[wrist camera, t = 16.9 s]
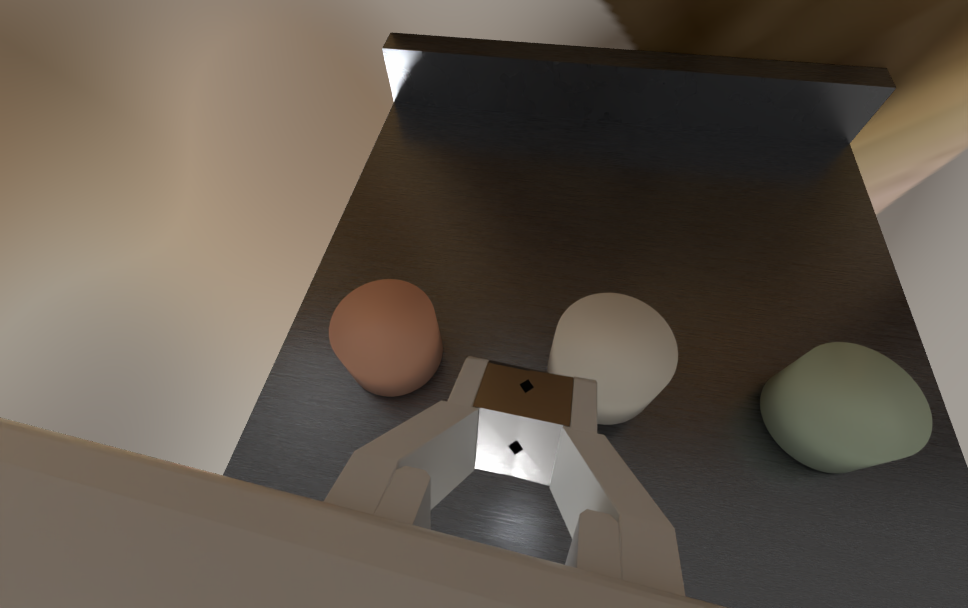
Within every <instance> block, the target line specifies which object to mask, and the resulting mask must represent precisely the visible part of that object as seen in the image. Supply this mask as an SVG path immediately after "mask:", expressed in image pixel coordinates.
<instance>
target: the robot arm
mask: <svg viewBox="0 0 968 608" xmlns="http://www.w3.org/2000/svg"><path fill="white" fill-rule="evenodd" d="M474 468H476V469H481V470H486V471H491V472H496V473H500V474H505V475H510V476H514V477H518V478H522V479H526V480H530V481H533V482H537V483H541V484H545V485H549V486H550V487H549V488H550V490H551V492H552V495H553V497H554V499H555V501H556V504H557V506H558V508H559V510H560V513H561V515H562V517H563V519H564V521H565V524H566V526H567V528H568V530H569V533H570V535H571V537H572V542H571V546H570V549H569V552H568V556H567V559H566V563H565V565H563V564H560V563H556V562H552V561H548V560H544V559H540V558H537V557H533V556H529V555H525V554H521V553H518V552H514V551H510V550H506V549H502V548H499V547H495V546H491V545H487V544H483V543H479V542H476V541H472V540H468V539H464V538H460V537H457V536H453V535H449V534H445V533H441V532H437V531H434V530H431V509H433V508H434V507H435V506H436V505H437V504H438V503H439V502H440V501H441V500H442V499H443V498H445V497H446V496H447V495H448V494H449V493H450V492H451V491H452V490H453V489H454V488H455V487H457V486H458V485H459V484H460V483H461V482H462V481H463V480H464V479H465V478H466V477H467V476H469V475H470V474H471V473H472V472H473V471H474ZM0 608H728V607H725V606H721V605H717V604H713V603H709V602H706V601H702V600H698V599H694V598H690V597H686V596H685V590H684V584H683V578H682V571H681V565H680V558H679V552H678V546H677V539H676V533H675V528H674V527H673V525H672V524H671V523H670V521H669V520H668V519H667V517H666V516H665V515H664V514H663V512H662V511H661V510H660V508H659V507H658V506H657V504H656V503H655V502H654V500H653V499H652V498H651V496H650V495H649V494H648V492H647V491H646V490H645V488H644V487H643V486H642V484H641V483H640V482H639V480H638V479H637V478H636V476H635V475H634V474H633V472H632V471H631V470H630V468H629V467H628V466H627V464H626V463H625V462H624V460H623V459H622V458H621V457H620V455H619V454H618V453H617V451H616V450H615V449H614V447H613V446H612V445H611V443H610V442H609V441H608V439H607V438H606V437H605V435H603V434H598V433H597V382H596V380H592V379H586V378H580V377H571V376H566V375H560V374H555V373H549V372H544V371H539V370H533V369H529V368H525V367H520V366H515V365H511V364H506V363H501V362H497V361H492V360H486V359H481V358H476V357H472V356H468V357H467V358H466V359H465V362H464V364H463V366H462V369H461V371H460V373H459V376H458V378H457V380H456V382H455V385H454V387H453V389H452V392H451V394H450V396H449V399H448V401H447V402H446V401H439V402H438V403H436V404H434V405H433V406H431V407H429V408H427V409H426V410H424V411H422V412H421V413H419V414H417V415H415V416H414V417H412V418H410V419H409V420H407V421H405V422H403V423H402V424H400V425H398V426H397V427H395V428H393V429H391V430H390V431H388V432H386V433H385V434H383V435H381V436H379V437H378V438H376V439H374V440H373V441H371V442H369V443H367V444H366V445H364V446H362V447H361V448H359V449H357V450H355V451H354V452H353V454H352V456H351V457H350V459H349V460H348V462H347V464H346V465H345V467H344V469H343V470H342V472H341V474H340V475H339V477H338V478H337V480H336V482H335V483H334V485H333V487H332V488H331V490H330V491H329V493H328V495H327V496H326V498H325V500H324V501H319V500H315V499H311V498H307V497H304V496H300V495H296V494H292V493H288V492H284V491H281V490H277V489H273V488H269V487H265V486H262V485H258V484H254V483H250V482H246V481H242V480H239V479H235V478H231V477H227V476H223V475H219V474H216V473H212V472H208V471H204V470H200V469H196V468H193V467H189V466H185V465H181V464H177V463H174V462H170V461H166V460H162V459H158V458H154V457H151V456H146V455H143V454H139V453H135V452H131V451H127V450H123V449H120V448H116V447H112V446H108V445H104V444H100V443H97V442H93V441H89V440H85V439H81V438H77V437H74V436H70V435H66V434H62V433H59V432H55V431H51V430H47V429H43V428H39V427H35V426H32V425H28V424H24V423H20V422H16V421H12V420H9V419H5V418H1V417H0Z"/></svg>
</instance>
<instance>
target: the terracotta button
mask: <svg viewBox="0 0 968 608" xmlns="http://www.w3.org/2000/svg"><path fill="white" fill-rule="evenodd" d="M329 340H330V344H331V347H332V349H333V351H334V353H335V354H336V356H337V357H338V358H339V360H340V361H341V362H342V364H343V365H344V366H345V367H346V369H347V370H348V371H349V373H350V374H351V375H352V376H353V378H354V379H355V380H356V382H357V383H358V384H359V385H360V386H361V387H363V388H364V389H365V390H367V391H369V392H371V393H373V394H376V395H380V396H387V397H395V396H401V395H405V394H408V393H411V392H413V391H415V390H417V389H419V388H420V387H422V386H423V385H424V384H426V383H427V382H428V381H429V380H430V379H431V378H432V376H433V375H434V374H435V372H436V371H437V369H438V367H439V365H440V362H441V359H442V354H443V344H442V339H441V335H440V331H439V326H438V322H437V318H436V314H435V310H434V307H433V305H432V302H431V300H430V299H429V297H428V296H427V295H426V294H425V293H424V292H423V291H422V290H421V289H420V288H418V287H417V286H415V285H413V284H411V283H409V282H406V281H402V280H397V279H382V280H376V281H372V282H369V283H366V284H364V285H362V286H360V287H358V288H356V289H355V290H353V291H352V292H350V293H349V294H348V295H347V296H346V297H345V298H344V299H343V300H342V301H341V302H340V303H339V304H338V306H337V307H336V309H335V311H334V313H333V315H332V318H331V321H330V325H329Z"/></svg>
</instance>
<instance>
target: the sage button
mask: <svg viewBox="0 0 968 608" xmlns="http://www.w3.org/2000/svg"><path fill="white" fill-rule="evenodd" d="M760 410H761V414H762V418H763V421H764V423H765V425H766V427H767V430H768V431H769V433H770V434H771V436H772V437H773V439H774V440H775V441H776V443H777V444H778V445H779V446H780V447H781V448H782V449H783V450H784V451H785V452H786V453H788V454H789V455H790V456H791V457H793V458H794V459H796V460H797V461H799V462H800V463H802V464H804V465H806V466H808V467H810V468H813V469H816V470H818V471H822V472H827V473H847V472H851V471H855V470H859V469H863V468H867V467H871V466H875V465H879V464H882V463H886V462H890V461H894V460H898V459H902V458H906V457H908V456H911V455H914V454H915V453H917V452H919V451H920V450H921V449H922V448H923V447H924V446H925V445H926V444H927V442H928V440H929V438H930V436H931V432H932V414H931V410H930V407H929V404H928V402H927V399H926V397H925V396H924V394H923V392H922V390H921V389H920V387H919V386H918V385H917V383H916V382H915V381H914V380H913V379H912V377H911V376H910V375H909V374H908V373H907V372H906V371H905V370H904V369H902V368H901V367H900V366H899V365H898V364H896V363H895V362H894V361H892V360H891V359H889V358H888V357H886V356H884V355H883V354H881V353H879V352H877V351H875V350H873V349H870V348H867V347H865V346H861V345H858V344H853V343H847V342H831V343H825V344H822V345H819V346H817V347H815V348H813V349H812V350H810V351H809V352H807V353H806V354H805V355H803V356H802V357H800V358H799V359H797V360H796V361H794V362H793V363H791V364H790V365H788V366H787V367H785V368H784V369H782V370H781V371H779V372H778V373H777V374H775V375H774V376H772V377H771V378H770V379H769V380H768V381H767V382H766V384H765V385H764V387H763V389H762V392H761V396H760Z"/></svg>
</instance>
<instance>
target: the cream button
mask: <svg viewBox="0 0 968 608" xmlns="http://www.w3.org/2000/svg"><path fill="white" fill-rule="evenodd" d="M677 362H678V349H677V343H676V340H675V337H674V334H673V332H672V330H671V328H670V327H669V325H668V324H667V322H666V321H665V320H664V318H663V317H662V316H661V315H660V314H659V313H658V312H657V311H655V310H654V309H653V308H652V307H650V306H649V305H647V304H646V303H644V302H642V301H640V300H638V299H636V298H633V297H631V296H627V295H624V294H618V293H598V294H593V295H589V296H586V297H584V298H581V299H580V300H578V301H576V302H575V303H573V304H572V305H571V306H570V307H569V308H568V309H567V310H566V311H565V312H564V313H563V315H562V316H561V318H560V320H559V322H558V325H557V327H556V331H555V335H554V339H553V343H552V347H551V351H550V355H549V360H548V368H547V371H548V372H549V373H555V374H560V375H566V376H571V377H580V378H586V379H592V380H596V382H597V424H603V425H613V424H619V423H623V422H626V421H628V420H630V419H632V418H634V417H635V416H637V415H638V414H639V413H641V412H642V411H643V410H644V409H645V408H646V407H647V406H648V405H649V403H650V402H651V401H652V400H653V399H654V398H655V397H656V396H657V395H658V394H659V393H660V392H661V391H662V390H663V389H664V388H665V387H666V386H667V384H668V383H669V382H670V380H671V379H672V377H673V375H674V373H675V370H676V367H677Z"/></svg>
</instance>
